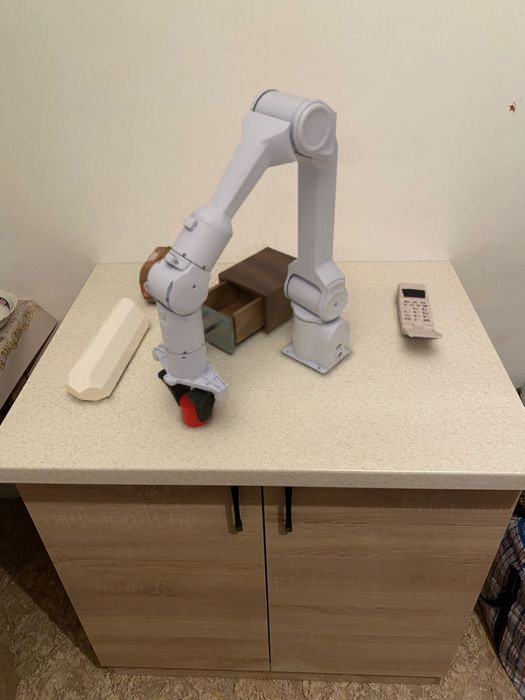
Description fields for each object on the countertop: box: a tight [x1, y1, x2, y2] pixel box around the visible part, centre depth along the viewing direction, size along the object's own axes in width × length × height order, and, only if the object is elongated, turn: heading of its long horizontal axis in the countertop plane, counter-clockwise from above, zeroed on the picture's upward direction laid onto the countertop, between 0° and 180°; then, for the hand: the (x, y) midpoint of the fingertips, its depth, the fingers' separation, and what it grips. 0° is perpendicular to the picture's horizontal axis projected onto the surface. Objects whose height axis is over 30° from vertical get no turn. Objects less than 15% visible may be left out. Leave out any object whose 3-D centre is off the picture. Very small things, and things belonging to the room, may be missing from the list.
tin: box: [138, 245, 173, 303], centre depth 107 cm, size 15×3×8 cm, turn 168°
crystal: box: [63, 296, 150, 402], centre depth 89 cm, size 7×7×24 cm
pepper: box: [179, 392, 210, 428], centre depth 78 cm, size 4×4×5 cm
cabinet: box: [217, 246, 298, 335], centre depth 101 cm, size 15×13×9 cm
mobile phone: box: [396, 282, 443, 340], centre depth 96 cm, size 6×6×25 cm
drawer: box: [201, 280, 265, 354], centre depth 94 cm, size 18×11×7 cm, turn 138°
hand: (194, 411), depth 78 cm, fingers closed on pepper, 4 cm apart
